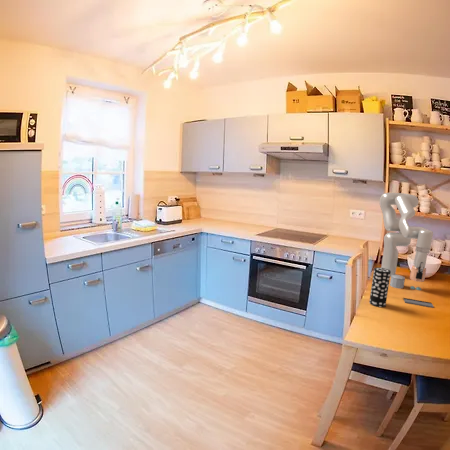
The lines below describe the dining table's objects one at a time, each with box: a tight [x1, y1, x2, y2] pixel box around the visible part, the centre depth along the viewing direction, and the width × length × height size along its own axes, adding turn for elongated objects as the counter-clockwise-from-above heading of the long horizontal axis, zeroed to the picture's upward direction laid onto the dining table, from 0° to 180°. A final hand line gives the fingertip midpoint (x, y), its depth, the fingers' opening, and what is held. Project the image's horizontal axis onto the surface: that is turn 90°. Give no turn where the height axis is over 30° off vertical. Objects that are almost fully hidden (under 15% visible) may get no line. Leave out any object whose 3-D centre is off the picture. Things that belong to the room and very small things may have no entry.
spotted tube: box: [368, 267, 391, 308], centre depth 179 cm, size 8×8×20 cm
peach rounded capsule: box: [409, 264, 427, 283], centre depth 202 cm, size 8×8×8 cm
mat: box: [402, 297, 434, 309], centre depth 189 cm, size 14×16×1 cm
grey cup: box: [389, 274, 406, 289], centre depth 207 cm, size 8×8×8 cm
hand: (417, 276), depth 202 cm, fingers closed on peach rounded capsule, 7 cm apart
